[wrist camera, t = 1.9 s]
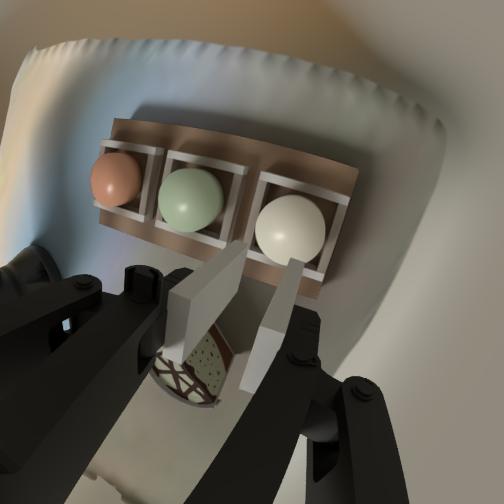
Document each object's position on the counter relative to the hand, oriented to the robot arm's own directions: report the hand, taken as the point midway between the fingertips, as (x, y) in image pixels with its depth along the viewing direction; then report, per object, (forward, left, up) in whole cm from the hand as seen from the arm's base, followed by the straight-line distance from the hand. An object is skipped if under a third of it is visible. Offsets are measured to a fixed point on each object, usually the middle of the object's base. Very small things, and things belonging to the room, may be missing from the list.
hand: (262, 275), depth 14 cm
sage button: (-10, 0, -13) cm, 16 cm away
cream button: (0, 0, -13) cm, 13 cm away
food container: (-8, -19, -18) cm, 27 cm away
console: (-10, 0, -17) cm, 20 cm away
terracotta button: (-20, 0, -13) cm, 24 cm away
